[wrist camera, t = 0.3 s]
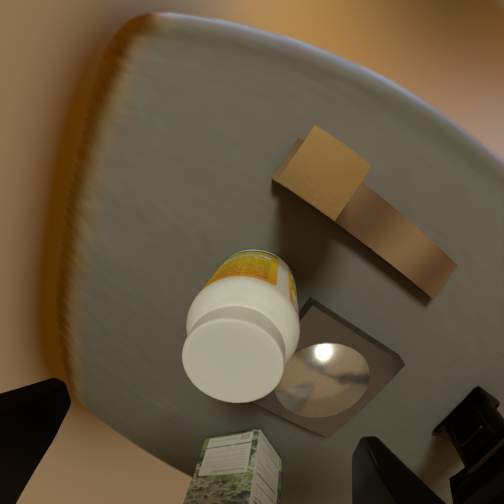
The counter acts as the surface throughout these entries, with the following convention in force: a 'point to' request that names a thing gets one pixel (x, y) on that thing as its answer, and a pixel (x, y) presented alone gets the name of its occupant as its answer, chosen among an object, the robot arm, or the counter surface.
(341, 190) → the handle
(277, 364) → the supplement bottle
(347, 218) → the rail
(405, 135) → the counter surface
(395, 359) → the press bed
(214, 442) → the syrup box
